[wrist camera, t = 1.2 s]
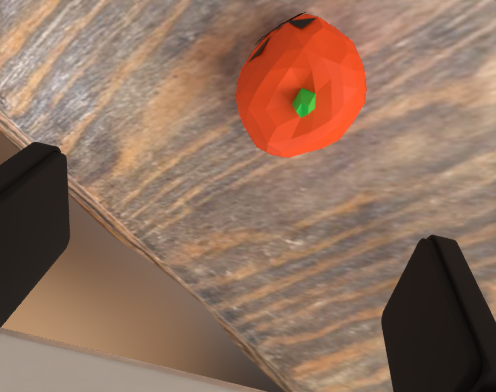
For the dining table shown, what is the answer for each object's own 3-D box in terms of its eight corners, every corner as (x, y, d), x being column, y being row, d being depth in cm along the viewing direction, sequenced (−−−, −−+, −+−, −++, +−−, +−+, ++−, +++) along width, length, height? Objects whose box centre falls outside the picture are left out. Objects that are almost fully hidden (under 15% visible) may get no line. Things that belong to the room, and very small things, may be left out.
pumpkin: (222, 105, 28) (199, 144, 23) (284, -12, 24) (274, 2, 18) (314, 157, 29) (313, 207, 24) (389, 53, 25) (409, 85, 19)
